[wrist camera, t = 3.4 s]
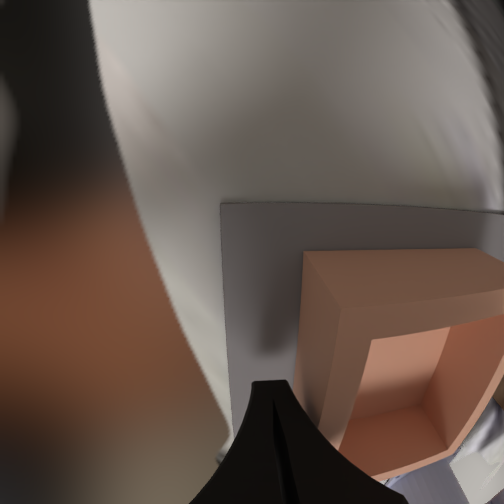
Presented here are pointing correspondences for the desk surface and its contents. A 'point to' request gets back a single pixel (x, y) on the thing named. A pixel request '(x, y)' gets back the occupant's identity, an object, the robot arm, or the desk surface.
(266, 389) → the robot arm
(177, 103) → the desk surface
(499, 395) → the end wall
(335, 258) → the socket block
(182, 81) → the desk surface
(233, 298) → the mat
